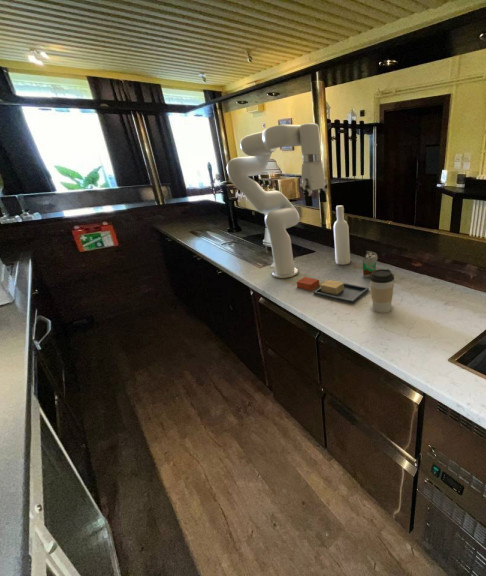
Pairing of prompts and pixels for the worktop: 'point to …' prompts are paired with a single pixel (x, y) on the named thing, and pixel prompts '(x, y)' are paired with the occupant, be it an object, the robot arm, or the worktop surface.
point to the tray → (345, 293)
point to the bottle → (341, 238)
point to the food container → (369, 263)
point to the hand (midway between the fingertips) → (316, 204)
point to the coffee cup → (382, 289)
